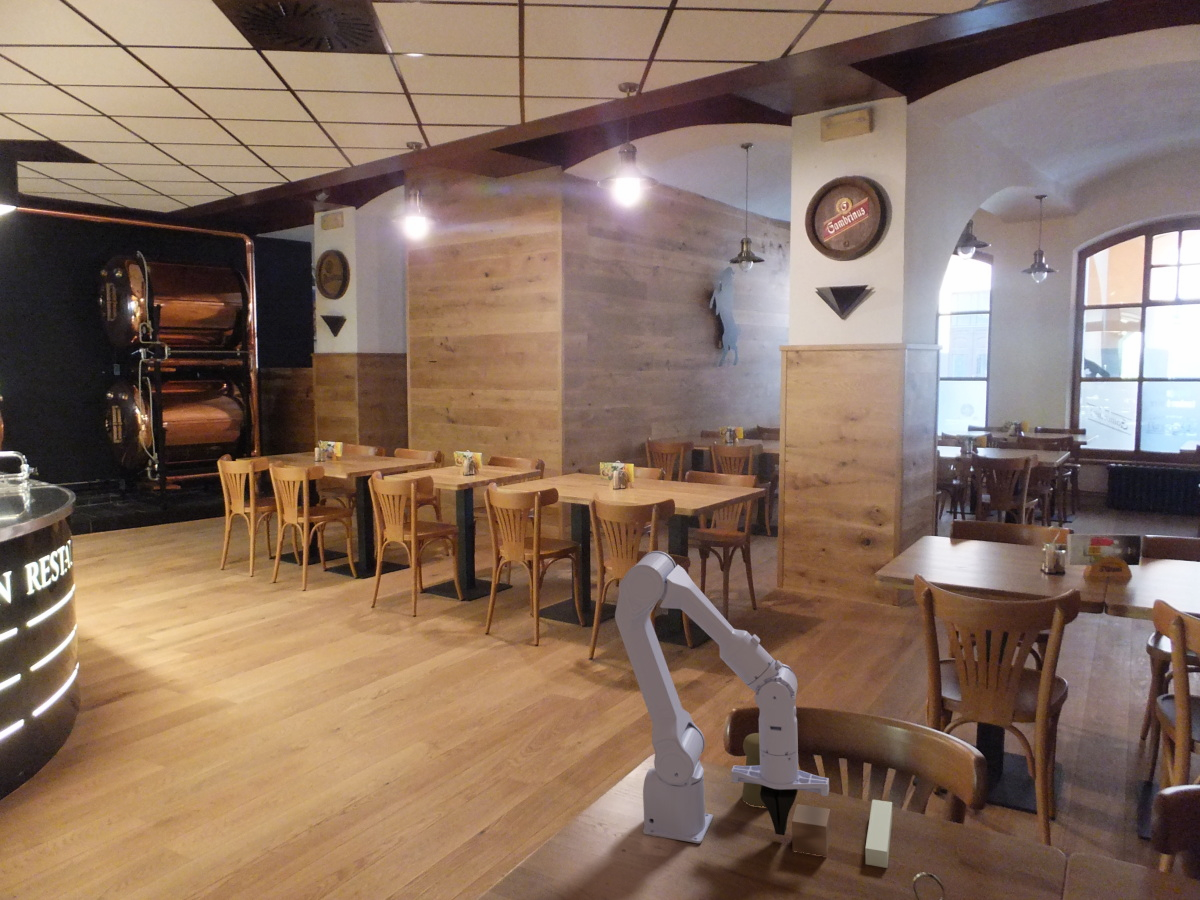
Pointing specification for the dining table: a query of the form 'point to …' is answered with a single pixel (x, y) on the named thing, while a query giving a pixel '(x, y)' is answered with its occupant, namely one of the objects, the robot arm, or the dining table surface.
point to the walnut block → (811, 830)
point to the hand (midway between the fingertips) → (780, 831)
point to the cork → (753, 759)
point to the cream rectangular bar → (879, 834)
